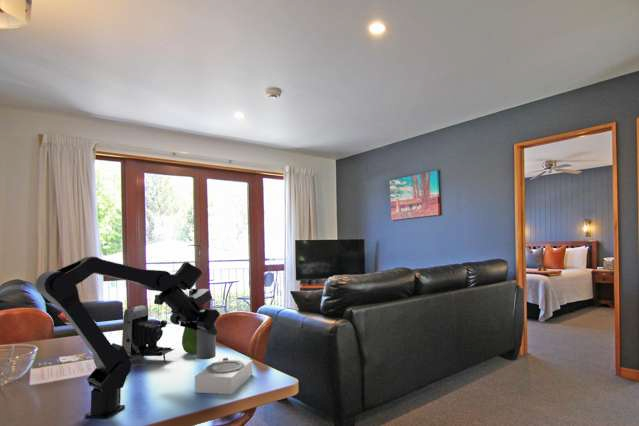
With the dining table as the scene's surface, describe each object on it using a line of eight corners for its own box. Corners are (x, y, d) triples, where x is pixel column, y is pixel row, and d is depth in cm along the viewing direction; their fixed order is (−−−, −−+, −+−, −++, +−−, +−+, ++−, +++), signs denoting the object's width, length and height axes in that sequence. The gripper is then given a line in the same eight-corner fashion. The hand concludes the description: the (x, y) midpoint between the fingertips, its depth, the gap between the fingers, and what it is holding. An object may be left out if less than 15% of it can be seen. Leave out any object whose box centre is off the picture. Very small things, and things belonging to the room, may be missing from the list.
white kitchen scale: (231, 394, 104) (231, 375, 104) (195, 392, 106) (195, 373, 106) (252, 374, 120) (252, 358, 120) (220, 373, 122) (220, 356, 122)
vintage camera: (158, 368, 130) (162, 309, 132) (119, 364, 133) (123, 307, 135) (174, 360, 139) (177, 305, 141) (138, 357, 142) (141, 303, 144)
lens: (209, 360, 114) (209, 312, 116) (192, 358, 116) (192, 312, 117) (219, 354, 120) (219, 309, 121) (203, 353, 122) (203, 309, 123)
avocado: (180, 352, 147) (180, 321, 148) (201, 349, 150) (201, 318, 151) (183, 357, 140) (183, 324, 141) (205, 354, 143) (205, 322, 144)
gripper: (214, 282, 111) (243, 314, 119) (179, 279, 123) (207, 309, 130) (190, 313, 104) (223, 345, 112) (155, 307, 116) (187, 337, 124)
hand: (210, 332), depth 120 cm, fingers closed on lens, 6 cm apart
